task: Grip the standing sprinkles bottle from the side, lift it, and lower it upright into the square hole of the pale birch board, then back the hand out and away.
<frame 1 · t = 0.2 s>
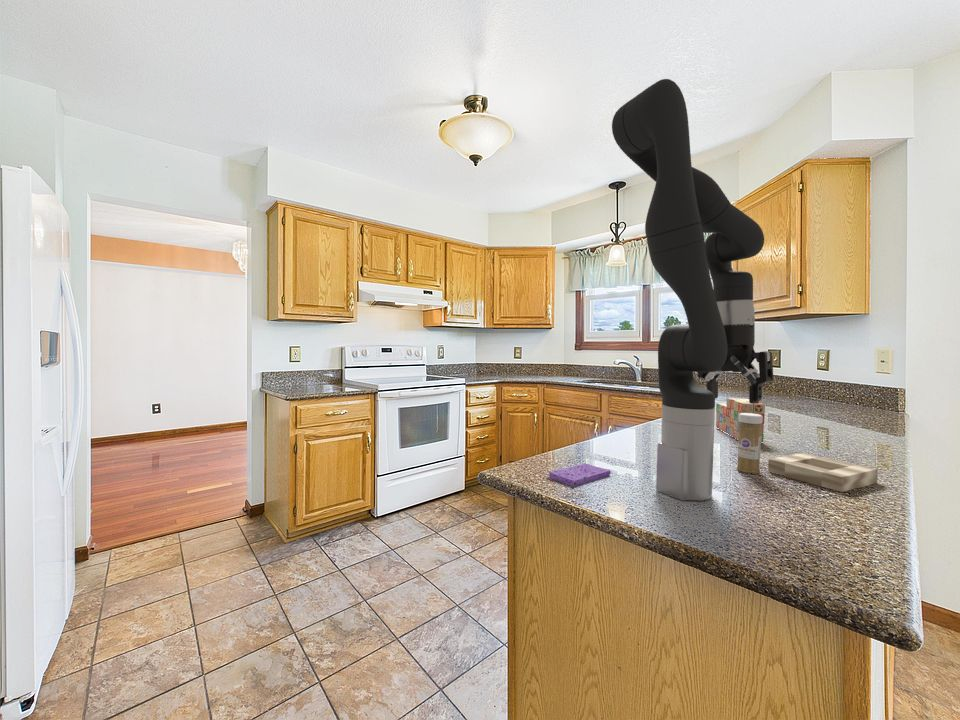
hand: (733, 400, 85), 18 cm above the worktop, tool pointing down, fingers open, 8 cm apart
birch socket board: (820, 477, 90), on the worktop
sprinkles bottle: (748, 472, 94), on the worktop
stack of blocks: (737, 436, 133), on the worktop
sponges: (580, 479, 89), on the worktop
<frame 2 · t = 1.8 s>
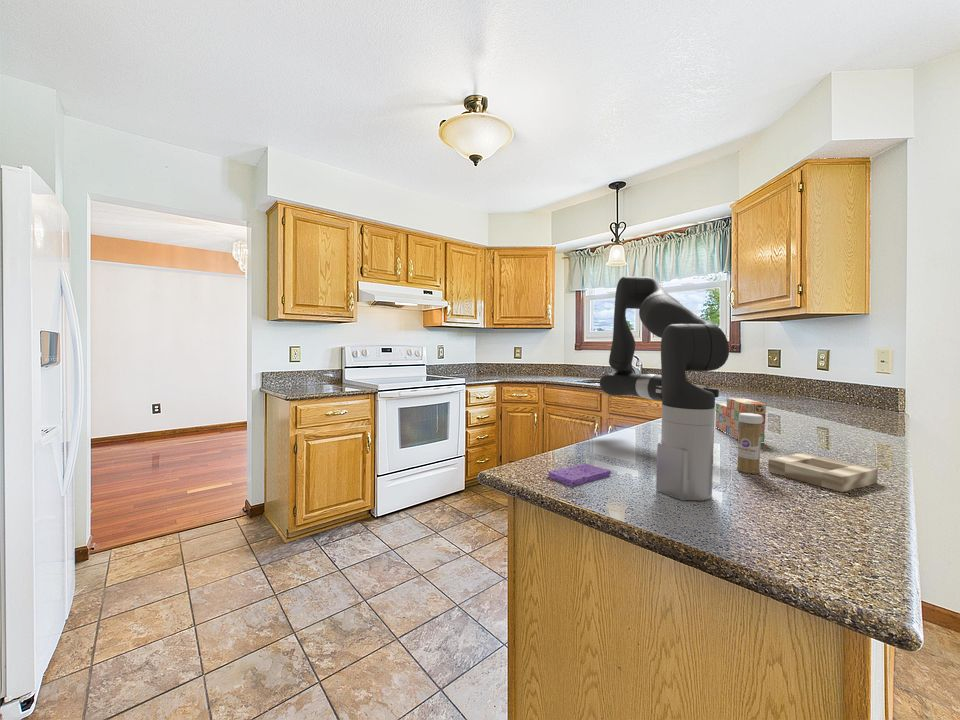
hand: (706, 394, 104), 17 cm above the worktop, tool horizontal, fingers open, 8 cm apart
nothing on the worktop moved.
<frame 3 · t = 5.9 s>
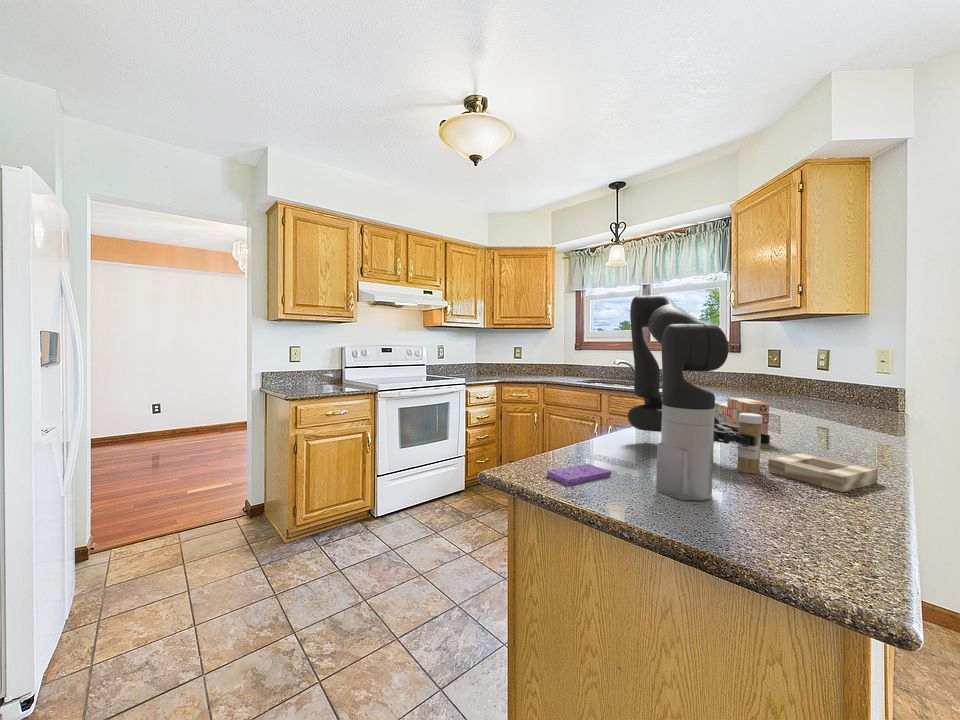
hand: (761, 440, 91), 8 cm above the worktop, tool horizontal, fingers closed on sprinkles bottle, 4 cm apart
sprinkles bottle: (748, 472, 94), on the worktop, touching gripper
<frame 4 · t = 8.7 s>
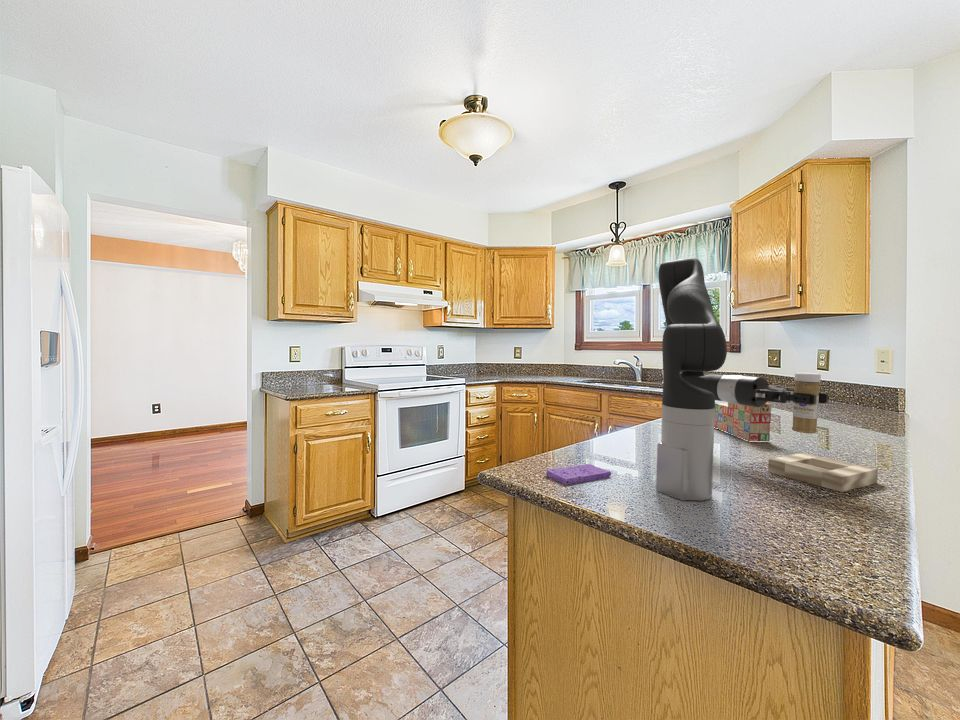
hand: (820, 399, 89), 18 cm above the worktop, tool horizontal, fingers closed on sprinkles bottle, 4 cm apart
sprinkles bottle: (804, 432, 91), point 10 cm above the worktop, touching gripper
when the fingers open (9 cm above the worktop, at t = 11.5 s): sprinkles bottle drops 1 cm, resting in birch socket board.
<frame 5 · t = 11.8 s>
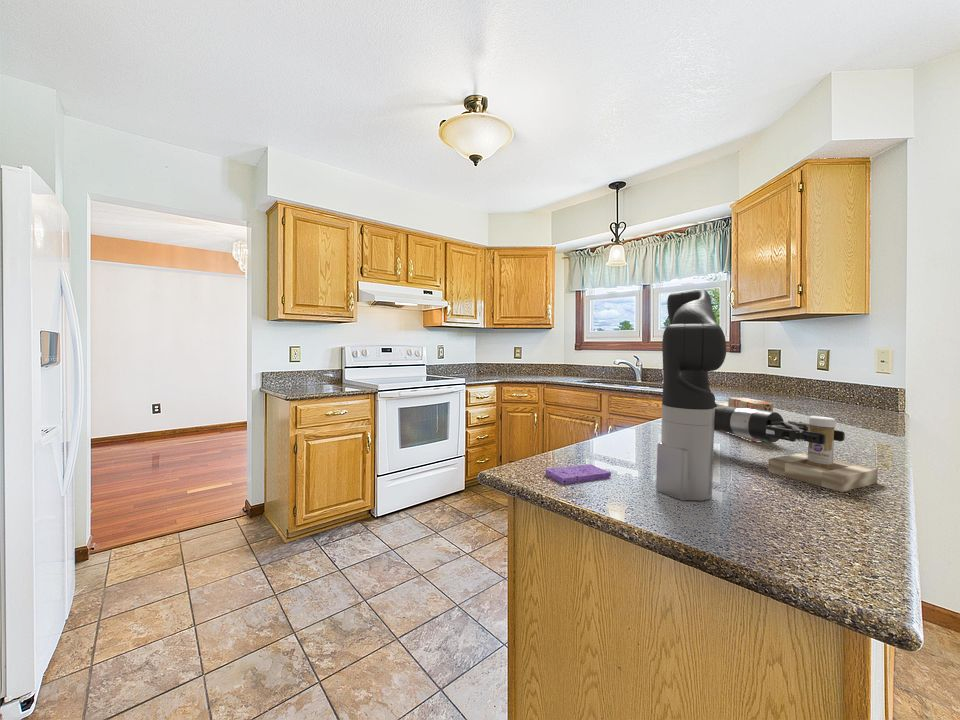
hand: (834, 438, 88), 9 cm above the worktop, tool horizontal, fingers open, 7 cm apart
sprinkles bottle: (819, 477, 91), resting in birch socket board
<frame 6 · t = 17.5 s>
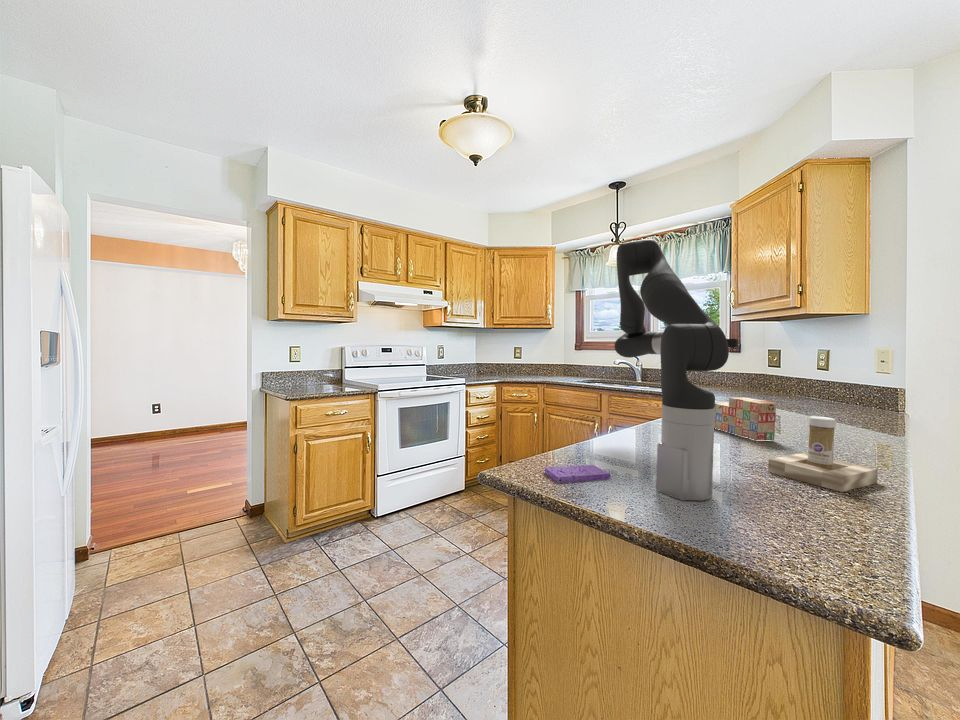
hand: (726, 342, 103), 30 cm above the worktop, tool horizontal, fingers open, 8 cm apart
at the end: sprinkles bottle 0.2 cm off-centre on the birch socket board, point 0.0 cm above the birch socket board's base; sprinkles bottle tilted 0°; the gripper is holding nothing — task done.
